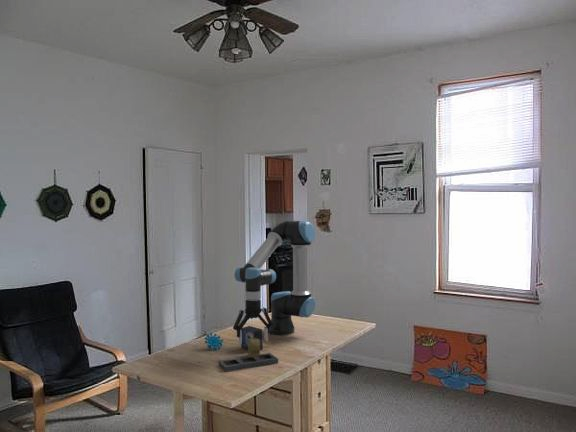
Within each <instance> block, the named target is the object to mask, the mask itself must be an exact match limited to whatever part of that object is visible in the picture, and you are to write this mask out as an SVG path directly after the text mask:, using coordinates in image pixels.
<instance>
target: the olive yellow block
mask: <svg viewBox="0 0 576 432" xmlns="http://www.w3.org/2000/svg"><path fill="white" fill-rule="evenodd" d="M259 354H261V350H260V340H259V339H258V338H250V339H248V350H247V356H253V355H259Z"/></svg>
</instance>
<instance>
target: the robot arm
mask: <svg viewBox="0 0 576 432" xmlns="http://www.w3.org/2000/svg"><path fill="white" fill-rule="evenodd" d="M315 237H316V231H315V227H314V225H313V224H312V223H311V222H309V221H305V220H285V221H282V222H280V223H278V224H277V225H276V226H274V227H273V228H272V229H271V230H269V233H267V238H266V239H265V240H264V241H263V242H262V243H261V245H260V247H258V249H257V250H256V251H255V253H254V254H253V255H252V256H251V257H250V259H248V261H247V262H246V263H245V265H244V266H243V267H241V266H240V267H238V268H235V271H234V279H235V281H237V282H239V283H245V301H244V302H245V309H244V310H242V309H239V312H238V316H237V317H236V320H235V322H234V324H233V326H232V329H233V330H235V331H236V337H237V338H238V344H239V345H241V344H242V331H241V329H242V328H244V326H245V325H246V323H247V322H248V321H249V320H250V319H257V318H258V319H259V321H261V323H262V324H263V325H264V328H263V340H264V341H266V342H268V341H269V340H268V339H269V334H270V335H276V336H284V335H285V336H287V335H291V334H293V333H295V325H294V322H293V320H292V316H293V317H300V318H306V319H307V318H310V317H311V316H312V315H313V313H314V312H315V309H316V300H315V297H313V296H312V292H311V291H310V289H309V247H310V246H311V245H312V242H314V241H315ZM285 242H290V243H289V246H291V247H292V268H293V269H292V272H293V273H292V278H293V279H292V280H293V281H292V283H293V284H292V285H293V286H292V287H293V288H292V289H293V290H291V291H289V290H287V291H278V292H273V293H272V294H271V297H270V306H271V307H270V311H271V313H270V314H271V318H270V315H269V314H268V309H267V308H266V307H262V305H261V303H262V301H261V297H262V293H261V291H262V290H261V289H262V288H261V286H262V287H263V286H266V285H267V286H268V285H271V284H273V283H275V281H276V279H277V273H276V272H275V270H274V269H271V268H266V269H261V268H262V267H263V265H265V263H266V262H267V260H269V258H270V256H272V254H273V253H274V252H275V250H276V249H278V247H279V246H281V245H282V244H283V243H285ZM261 307H262V308H261ZM262 313H263V316H264V317H265V318H263V316H262V315H261V314H262ZM243 316H244V317H243ZM242 318H243V319H242Z"/></svg>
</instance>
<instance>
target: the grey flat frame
mask: <svg viewBox="0 0 576 432" xmlns="http://www.w3.org/2000/svg"><path fill="white" fill-rule="evenodd" d="M274 363H275V364H278V363H279V358H278V357H276V356H275V355H274V354H272V353H271V352H267V353H266V352H265V353H260V354H259V355H253V356H249V355H247V356H242V357H235V358H234V357H233V358H228V359H223V360H222V359H221V360H218V366H219V367H220V368H221V369H222V370H223V371H224V372H226V373H227V372H233V371H239V370H244V369H250V368H255V367H262V366H263V367H264V366H268V365H274Z"/></svg>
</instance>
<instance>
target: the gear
mask: <svg viewBox="0 0 576 432" xmlns="http://www.w3.org/2000/svg"><path fill="white" fill-rule="evenodd" d="M217 334H218V333H213V332H210V333H207V334H206V336H205V337H204V343H205V344H207V345H206V347H208V348H210V350H212V351H213V350H214V351H217V350H218V349H219V350H221V348H222V346H223V345H224V343H223V342H224V340H225V339H224V338H221V336H220V335H218V336H217Z"/></svg>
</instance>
